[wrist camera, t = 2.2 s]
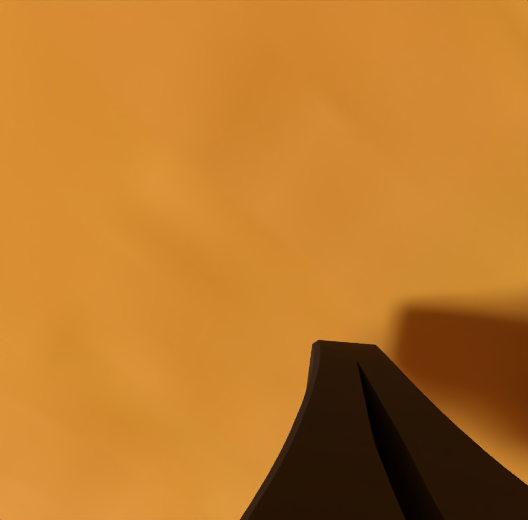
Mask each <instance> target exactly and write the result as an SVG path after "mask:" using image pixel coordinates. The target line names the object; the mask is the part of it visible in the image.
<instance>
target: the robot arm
mask: <svg viewBox="0 0 528 520" xmlns="http://www.w3.org/2000/svg"><path fill="white" fill-rule="evenodd" d="M240 520H528V485H527V484H525V483H524V482H523V481H521V480H520V479H519V478H518V477H516V476H515V475H514V474H512V473H511V472H510V471H509V470H507V469H506V468H505V467H503V466H502V465H501V464H500V463H499V462H497V461H496V460H495V459H494V458H493V457H491V456H490V455H489V454H488V453H487V452H485V451H484V450H483V449H482V448H481V447H480V446H479V445H477V444H476V443H475V442H474V441H473V440H472V439H471V438H470V437H468V436H467V435H466V434H465V433H464V432H463V431H462V430H461V429H459V428H458V427H457V426H456V425H455V424H454V423H453V422H452V421H451V420H450V419H449V418H448V417H447V416H445V415H444V414H443V413H442V412H441V411H440V410H439V409H438V408H437V407H436V406H435V405H434V404H433V403H432V402H431V401H430V400H429V399H428V398H427V397H426V396H425V395H424V394H423V393H422V392H421V391H420V390H419V389H418V388H417V387H416V386H415V385H414V384H413V383H412V382H411V381H410V380H409V379H408V378H407V377H406V376H405V375H404V374H403V373H402V371H401V370H400V369H399V368H398V367H397V366H396V365H395V364H394V363H393V362H392V361H391V360H390V359H389V358H388V357H387V356H386V355H385V354H384V353H383V352H382V351H381V350H380V349H379V348H378V347H377V346H376V345H372V344H360V343H348V342H336V341H324V340H318V341H316V342H315V343H313V344H312V351H311V358H310V366H309V374H308V381H307V389H306V393H305V396H304V399H303V402H302V405H301V407H300V409H299V412H298V414H297V417H296V419H295V421H294V424H293V426H292V429H291V431H290V433H289V435H288V437H287V439H286V442H285V444H284V446H283V448H282V450H281V452H280V454H279V455H278V457H277V459H276V461H275V463H274V465H273V467H272V468H271V470H270V472H269V474H268V475H267V477H266V479H265V480H264V482H263V484H262V485H261V487H260V489H259V490H258V492H257V494H256V495H255V497H254V499H253V500H252V502H251V503H250V505H249V507H248V508H247V510H246V511H245V513H244V514H243V516H242V517H241V519H240Z"/></svg>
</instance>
